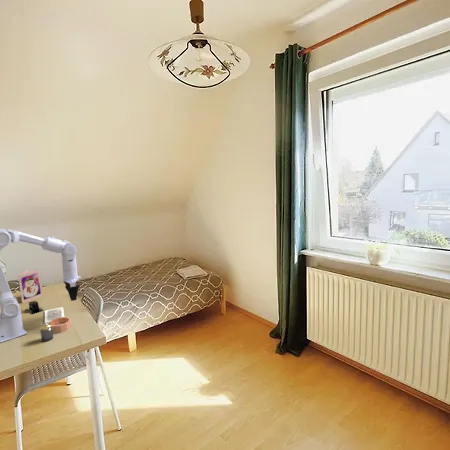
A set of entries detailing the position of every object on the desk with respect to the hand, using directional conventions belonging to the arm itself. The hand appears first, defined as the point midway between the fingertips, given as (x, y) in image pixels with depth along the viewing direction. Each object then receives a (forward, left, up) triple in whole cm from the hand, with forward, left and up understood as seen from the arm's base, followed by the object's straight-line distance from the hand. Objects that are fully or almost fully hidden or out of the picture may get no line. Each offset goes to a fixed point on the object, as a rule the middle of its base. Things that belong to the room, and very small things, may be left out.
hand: (72, 297), depth 143 cm
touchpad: (-6, +9, -10) cm, 15 cm away
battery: (-15, -12, -10) cm, 22 cm away
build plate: (-10, +24, -10) cm, 28 cm away
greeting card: (-6, +43, -10) cm, 45 cm away
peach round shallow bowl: (-8, -6, -10) cm, 14 cm away
